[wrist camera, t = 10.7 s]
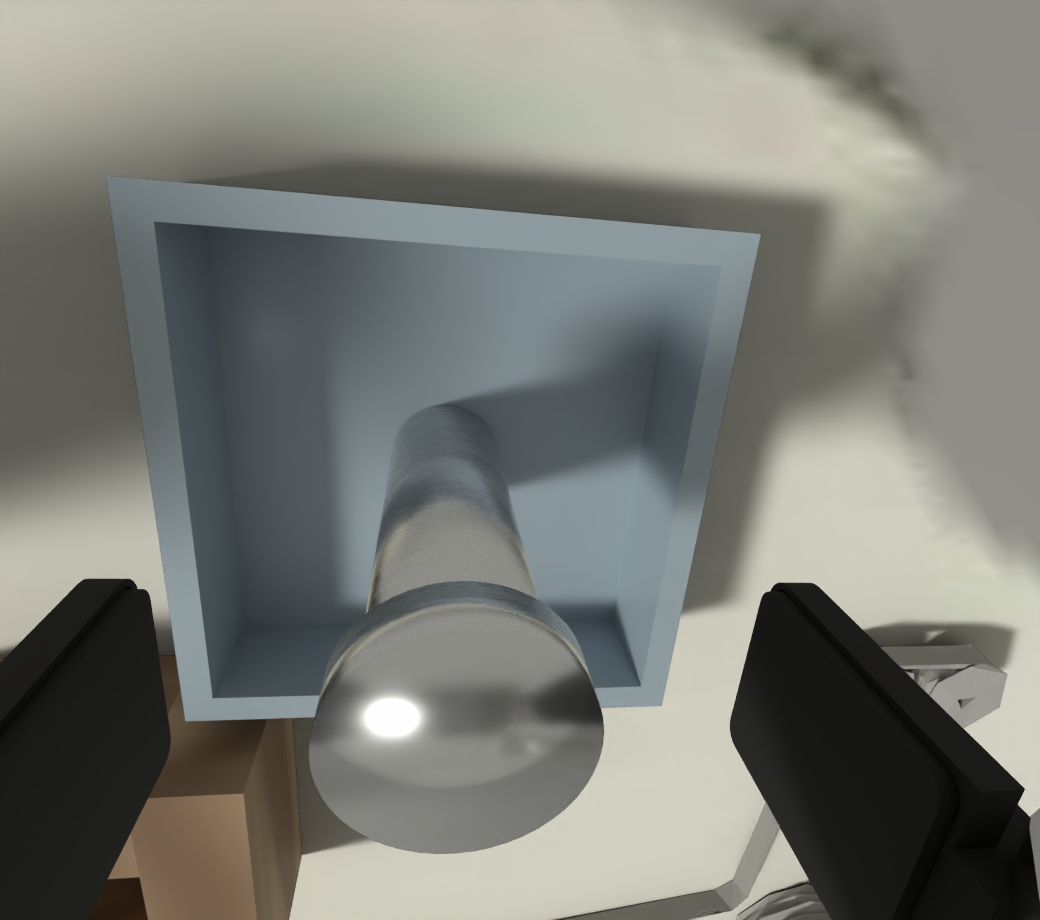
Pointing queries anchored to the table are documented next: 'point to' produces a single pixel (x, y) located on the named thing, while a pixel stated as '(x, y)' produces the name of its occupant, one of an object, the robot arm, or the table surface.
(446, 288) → the pin tray
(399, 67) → the table surface
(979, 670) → the pulley system
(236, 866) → the block
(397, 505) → the lock pin
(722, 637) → the table surface
